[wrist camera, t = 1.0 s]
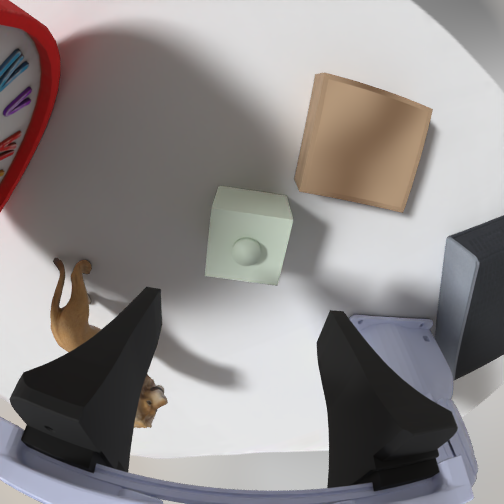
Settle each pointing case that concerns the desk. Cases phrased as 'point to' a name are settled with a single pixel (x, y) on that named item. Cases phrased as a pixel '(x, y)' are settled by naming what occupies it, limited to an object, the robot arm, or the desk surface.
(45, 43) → the toy clock
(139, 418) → the lion figurine
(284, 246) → the sage brick
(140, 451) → the desk surface
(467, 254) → the external hard drive
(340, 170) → the base brick
